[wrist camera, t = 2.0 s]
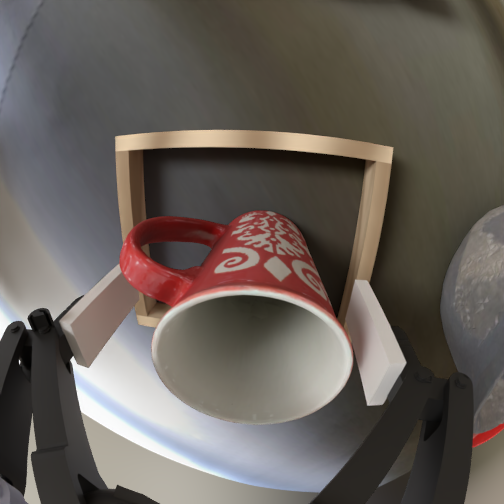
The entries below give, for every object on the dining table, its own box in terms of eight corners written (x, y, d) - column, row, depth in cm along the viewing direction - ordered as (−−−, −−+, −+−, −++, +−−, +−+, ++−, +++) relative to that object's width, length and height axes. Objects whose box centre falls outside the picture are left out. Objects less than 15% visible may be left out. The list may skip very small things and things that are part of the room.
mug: (339, 246, 23) (393, 364, 10) (269, 313, 26) (260, 440, 13) (220, 147, 20) (136, 166, 8) (159, 231, 23) (66, 324, 11)
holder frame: (147, 310, 27) (138, 324, 25) (130, 135, 20) (115, 136, 18) (346, 327, 26) (350, 344, 24) (380, 145, 19) (393, 147, 16)
